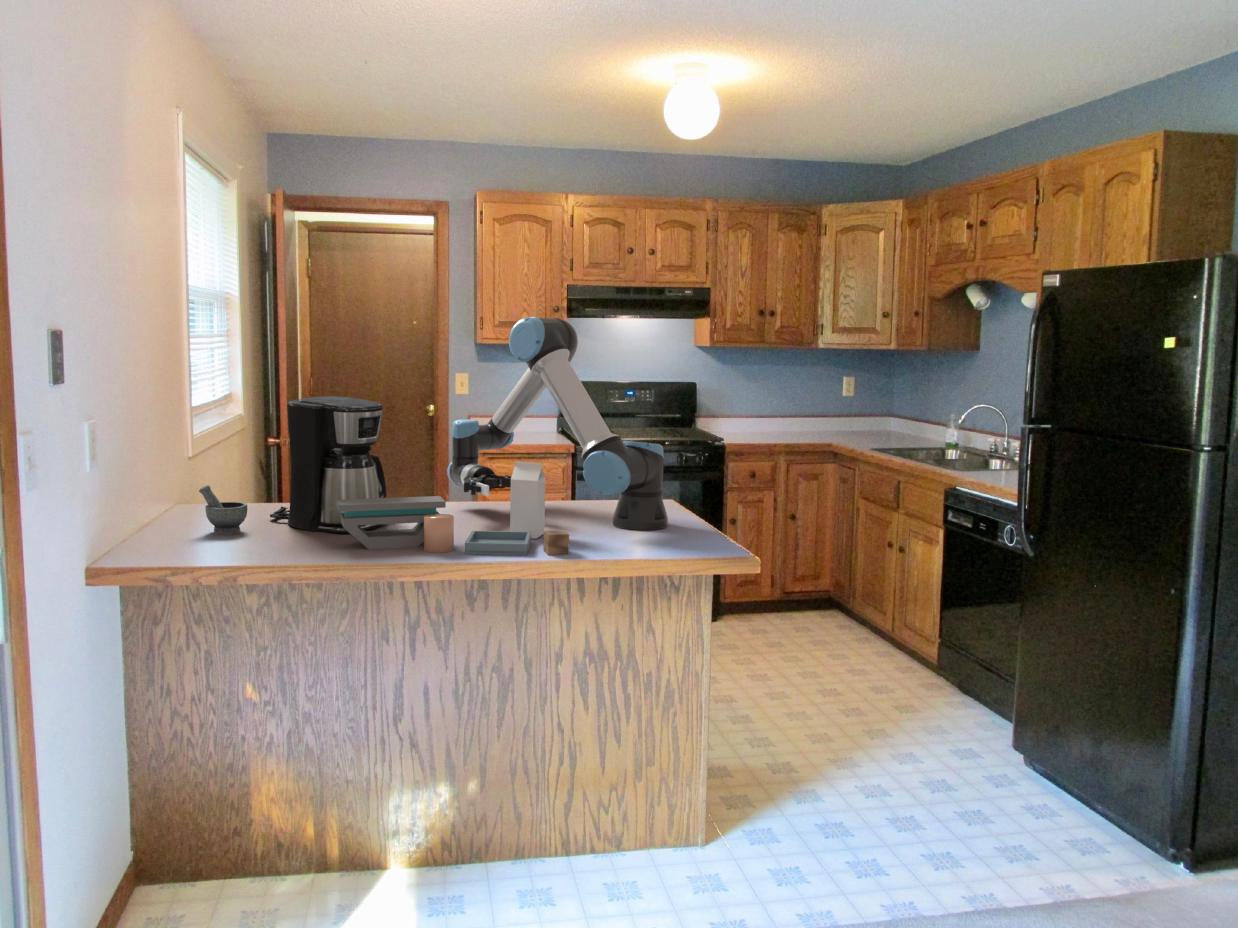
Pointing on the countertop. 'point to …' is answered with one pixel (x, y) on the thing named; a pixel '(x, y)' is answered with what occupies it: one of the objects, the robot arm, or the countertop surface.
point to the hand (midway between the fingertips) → (511, 489)
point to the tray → (498, 542)
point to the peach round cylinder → (438, 533)
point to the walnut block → (556, 542)
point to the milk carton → (527, 499)
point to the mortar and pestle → (223, 513)
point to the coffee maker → (331, 460)
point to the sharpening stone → (388, 519)
